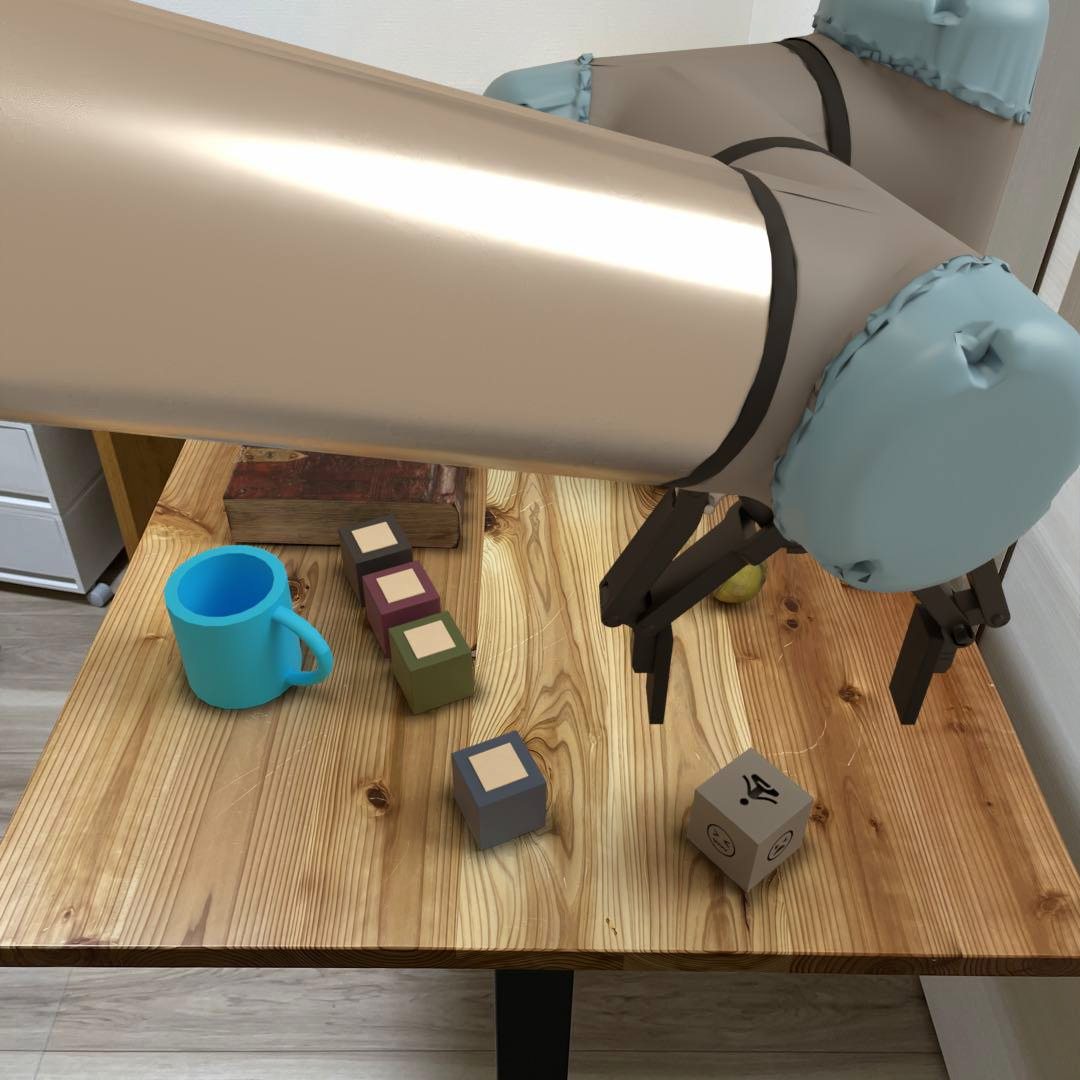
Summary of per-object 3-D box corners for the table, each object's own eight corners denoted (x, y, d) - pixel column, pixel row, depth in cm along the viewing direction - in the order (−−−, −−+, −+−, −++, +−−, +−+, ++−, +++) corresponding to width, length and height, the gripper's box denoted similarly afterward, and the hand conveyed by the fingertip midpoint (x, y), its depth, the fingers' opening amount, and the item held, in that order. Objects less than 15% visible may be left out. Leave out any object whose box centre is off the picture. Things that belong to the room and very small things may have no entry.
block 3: (414, 715, 75) (409, 670, 72) (392, 672, 78) (387, 627, 75) (473, 695, 76) (472, 650, 73) (450, 653, 79) (447, 608, 76)
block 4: (480, 851, 66) (478, 807, 63) (453, 796, 69) (450, 751, 66) (545, 825, 68) (547, 781, 65) (516, 773, 71) (516, 728, 68)
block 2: (386, 658, 79) (380, 613, 76) (367, 619, 82) (361, 574, 79) (443, 640, 80) (440, 595, 77) (422, 602, 83) (418, 558, 80)
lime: (717, 619, 82) (726, 570, 79) (697, 577, 86) (704, 530, 83) (772, 611, 83) (782, 563, 80) (750, 570, 87) (759, 522, 83)
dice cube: (800, 846, 67) (814, 798, 64) (746, 892, 64) (758, 844, 61) (740, 795, 70) (750, 746, 66) (686, 837, 67) (695, 789, 64)
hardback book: (460, 548, 88) (458, 500, 85) (233, 545, 88) (222, 497, 85) (478, 365, 110) (477, 321, 107) (296, 362, 110) (289, 319, 107)
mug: (164, 686, 76) (137, 603, 71) (234, 614, 82) (215, 532, 77) (304, 743, 73) (287, 660, 67) (368, 663, 78) (357, 581, 73)
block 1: (361, 607, 83) (355, 562, 80) (343, 571, 86) (337, 527, 83) (415, 590, 84) (412, 546, 81) (397, 556, 87) (392, 512, 84)
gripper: (1112, 329, 48) (982, 656, 62) (555, 327, 48) (550, 655, 62) (1190, 423, 42) (1028, 760, 56) (558, 421, 42) (551, 760, 56)
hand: (777, 706), depth 59 cm, fingers open, 13 cm apart
